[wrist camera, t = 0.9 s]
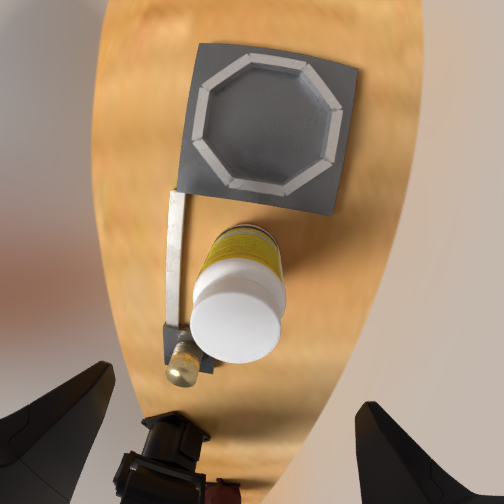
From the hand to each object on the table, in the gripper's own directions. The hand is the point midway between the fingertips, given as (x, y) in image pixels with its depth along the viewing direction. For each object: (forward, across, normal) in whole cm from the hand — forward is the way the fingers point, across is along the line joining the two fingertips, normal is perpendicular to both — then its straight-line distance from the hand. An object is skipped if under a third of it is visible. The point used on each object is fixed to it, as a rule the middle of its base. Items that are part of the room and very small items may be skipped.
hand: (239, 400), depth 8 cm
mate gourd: (+12, -2, +44) cm, 46 cm away
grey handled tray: (+12, 0, -1) cm, 12 cm away
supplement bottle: (+12, 0, 0) cm, 12 cm away
